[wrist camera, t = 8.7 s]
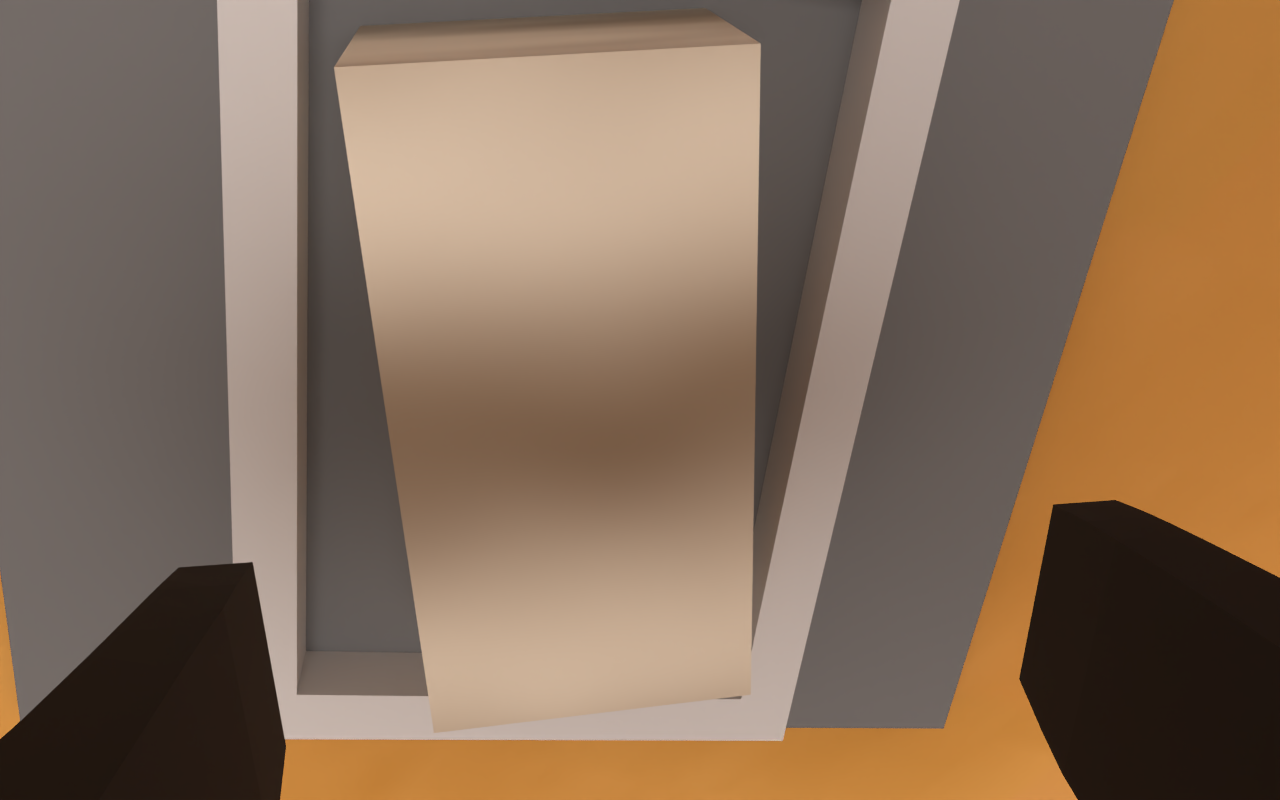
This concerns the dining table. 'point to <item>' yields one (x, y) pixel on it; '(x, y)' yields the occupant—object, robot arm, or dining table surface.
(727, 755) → the dining table surface
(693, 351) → the beige oblong block
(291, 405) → the mat
